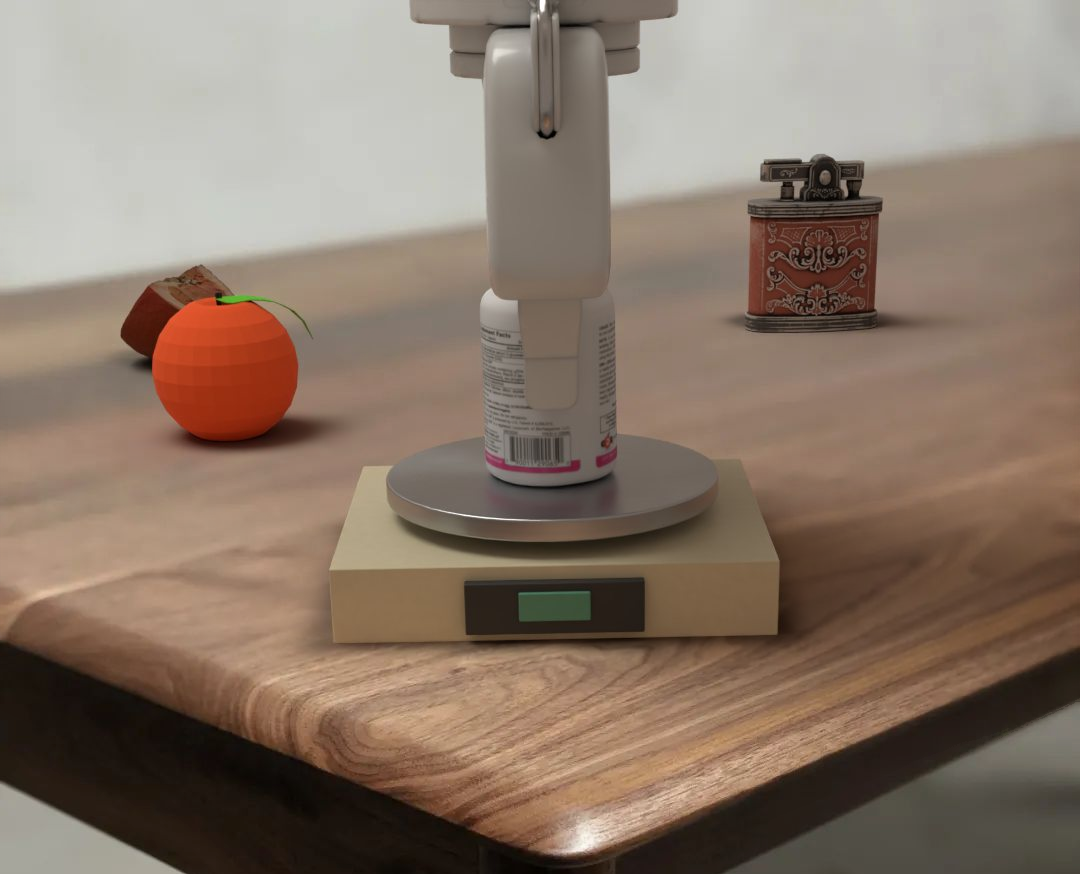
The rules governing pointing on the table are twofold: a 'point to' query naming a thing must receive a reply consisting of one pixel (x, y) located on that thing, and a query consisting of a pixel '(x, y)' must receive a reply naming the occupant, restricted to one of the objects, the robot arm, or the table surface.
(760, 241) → the lighter
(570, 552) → the scale
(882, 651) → the table surface
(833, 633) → the table surface
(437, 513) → the pan
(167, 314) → the brown block
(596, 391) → the pill bottle
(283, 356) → the clementine
